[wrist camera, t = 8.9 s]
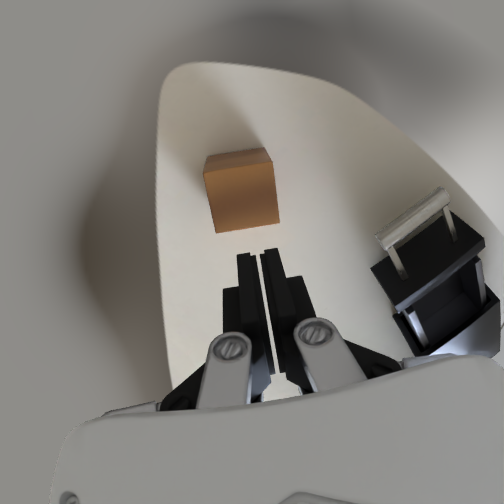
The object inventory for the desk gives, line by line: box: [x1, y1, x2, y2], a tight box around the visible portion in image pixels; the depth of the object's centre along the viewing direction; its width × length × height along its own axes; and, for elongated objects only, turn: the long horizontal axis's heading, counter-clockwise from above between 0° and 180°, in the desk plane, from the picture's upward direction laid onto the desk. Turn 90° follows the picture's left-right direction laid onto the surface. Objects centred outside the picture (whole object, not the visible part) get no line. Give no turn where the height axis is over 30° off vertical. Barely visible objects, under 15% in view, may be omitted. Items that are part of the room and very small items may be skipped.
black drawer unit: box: [393, 284, 501, 358], centre depth 32 cm, size 14×12×8 cm
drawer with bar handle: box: [370, 187, 487, 351], centre depth 26 cm, size 18×10×6 cm, turn 38°
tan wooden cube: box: [203, 147, 280, 233], centre depth 22 cm, size 4×4×4 cm
